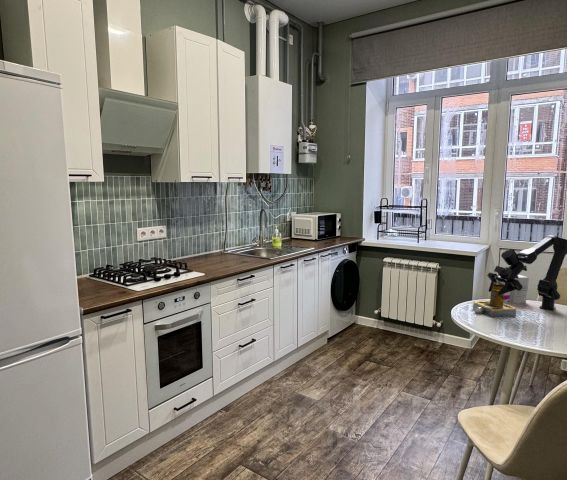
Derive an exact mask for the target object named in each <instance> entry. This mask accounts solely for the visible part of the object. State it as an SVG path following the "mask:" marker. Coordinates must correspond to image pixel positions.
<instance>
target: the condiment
mask: <svg viewBox="0 0 567 480" xmlns="http://www.w3.org/2000/svg"><path fill="white" fill-rule="evenodd" d="M503 287H504V284H502V283H493V286H492V289H491V292H490V298H489V301H490V303H483V304H484V305H486V306H488V307H490V308H506V307H503V301H504V294H502V295H498V293H499V291H500V290H501V289H502V288H503Z"/></svg>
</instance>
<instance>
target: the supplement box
mask: <svg viewBox="0 0 567 480" xmlns="http://www.w3.org/2000/svg"><path fill="white" fill-rule="evenodd" d="M515 279H516V280H518V281H519V282H520V283H521V284H522V286H523V287H522V289H521V290H520V291H518V290H516V289H515V291H514V290H513V291H510V299H509V303H511V304H524V303H525V304H526V303H527V295H528V288H529V280H530V277H529V276H525V275H522V274H519V275H518V279H517V278H515Z"/></svg>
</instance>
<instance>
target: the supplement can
mask: <svg viewBox="0 0 567 480" xmlns="http://www.w3.org/2000/svg"><path fill="white" fill-rule="evenodd" d="M497 275H498V274H497ZM498 277H500V276H499V275H498ZM499 283H502V284H504V285H505V283H504V282H499ZM509 299H510V292H507V293H504V301H503V303H504V304H507V305H509V304H510V302H509Z"/></svg>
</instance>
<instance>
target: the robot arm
mask: <svg viewBox="0 0 567 480" xmlns="http://www.w3.org/2000/svg"><path fill="white" fill-rule="evenodd" d="M550 247H552V249H553V252H554V253H553V255H552V258H551V261H550V263H549V266H548V269H547V272H546V275H545V277H544V278H543V279H541V278H540V279H539V280H538V284H537V288H536V290H537V292H538V296H540V297H542V299H541V305H540V306H539V309H541V310H542V309H543V310H546V311H552V312H554V311H555V310H556V308H557V307H555V304H556V301H558V300H560V298H561V294H560V293H559V292H558V282H557V279H558V276H559V275H560V271H561V268H562V265H563V264H564V263H563V262H564V259H565V257H566V255H567V237H564V236H563V237H562V236H557V235H552V234H551V235H550V234H548V235H546V236H545V238H543V239H542V240H540V241H539V242H537V243H536V244H534V245H533V246H532V247H530V248H527V249H523V250H521V251H519V252H518V253H517V252H516V250H515V249H514V248H509V249H508V250H505V251H503V252H502V253H501V255H500V256H501V258H502V260H503V261H504V262H505V263H506V264H507V265H508V267H507V266H505V267H503V266H500V265H496V266H495V268H494V270H493V272H492V271H491V272H488V274H487V275H486V276H487V277H488V278H489V280H490V285H489V287H488V290H487V291H488V292H489V293H491V289H492V286H493V283H499V282H504V283H505V285H504V287H503V288H502V289H501V290H500V291H499V293H498V295H502V294H504V293H507V292H510V291H513V290H514V291H515V289H516V290H518V291H520V290H521V289H522V287H523V286H522V284H521V283H520V282H519V281H518V280H516V279H515V278H517V279H518V275H521V273H522V272H523V271H525V272H527V271H528V267H527V266H528V265H531V264H533V263H534V262H535V261H536V260H537V258H538V256H539V255H541V254H542V253H543V252H545V251H546V250H548V249H549V248H550ZM525 264H526V265H525ZM498 275H499V276H500V277H498Z"/></svg>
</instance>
